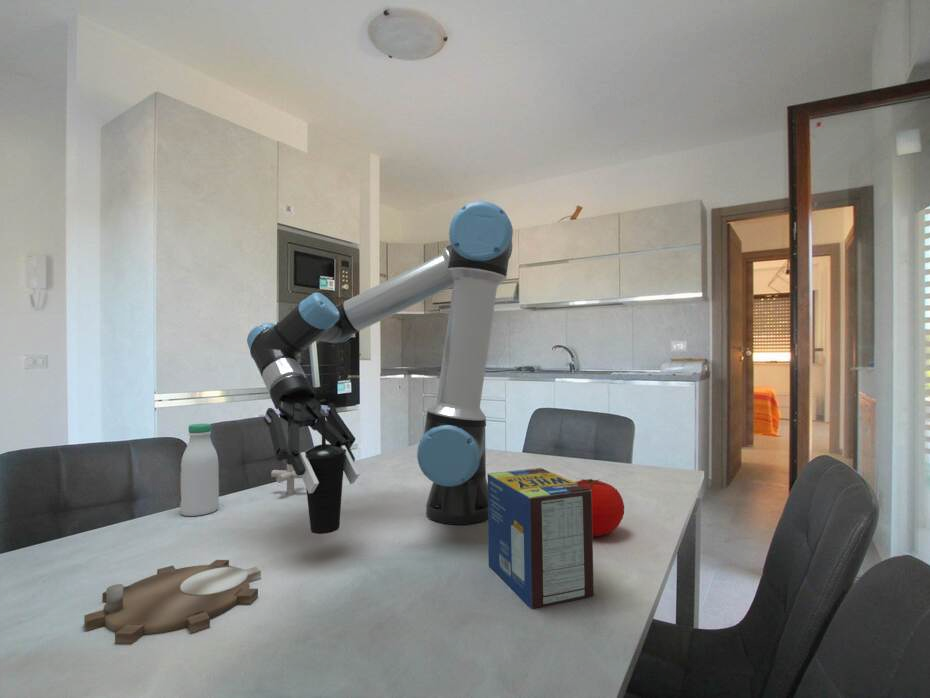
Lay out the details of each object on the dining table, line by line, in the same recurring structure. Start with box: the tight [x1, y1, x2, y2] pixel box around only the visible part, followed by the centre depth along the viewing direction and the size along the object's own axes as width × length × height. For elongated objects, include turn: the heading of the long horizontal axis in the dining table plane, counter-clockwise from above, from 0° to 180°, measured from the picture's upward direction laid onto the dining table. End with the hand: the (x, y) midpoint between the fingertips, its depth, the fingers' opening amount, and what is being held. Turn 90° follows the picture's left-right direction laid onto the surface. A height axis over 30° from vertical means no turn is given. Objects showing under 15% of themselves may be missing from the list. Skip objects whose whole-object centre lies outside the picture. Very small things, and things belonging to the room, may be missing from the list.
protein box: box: [487, 467, 595, 609], centre depth 75 cm, size 10×15×16 cm
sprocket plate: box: [83, 559, 262, 645], centre depth 70 cm, size 22×22×4 cm
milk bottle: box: [179, 423, 220, 517], centre depth 111 cm, size 8×8×20 cm
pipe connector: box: [270, 463, 302, 496], centre depth 125 cm, size 10×10×10 cm
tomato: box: [574, 478, 625, 537], centre depth 95 cm, size 12×12×10 cm
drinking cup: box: [303, 415, 346, 535], centre depth 85 cm, size 8×8×20 cm
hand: (335, 483), depth 83 cm, fingers closed on drinking cup, 7 cm apart
